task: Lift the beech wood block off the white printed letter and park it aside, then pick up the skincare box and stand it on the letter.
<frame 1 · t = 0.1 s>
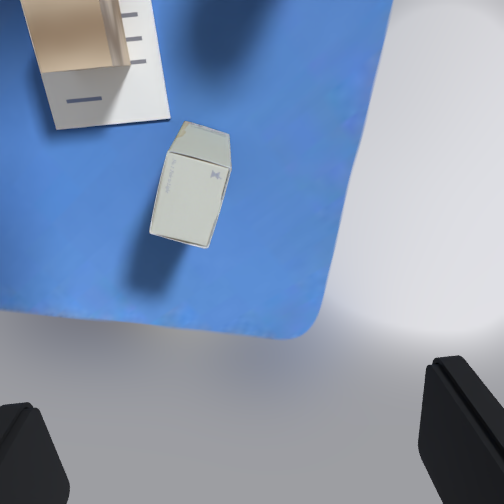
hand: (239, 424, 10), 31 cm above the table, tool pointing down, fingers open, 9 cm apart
letter: (94, 34, 34), on the table
block: (93, 34, 33), resting on letter
skincare box: (199, 160, 38), on the table
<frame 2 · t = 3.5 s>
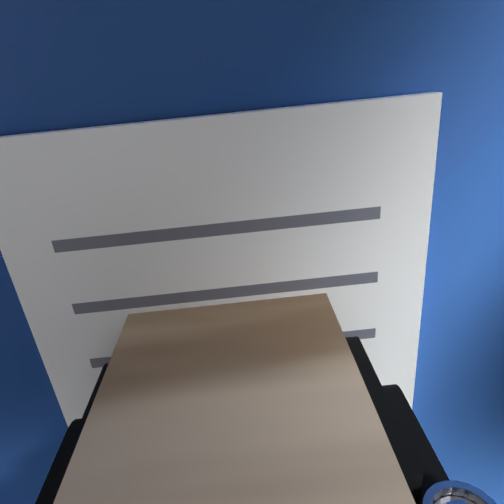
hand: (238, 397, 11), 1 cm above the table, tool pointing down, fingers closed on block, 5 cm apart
letter: (237, 372, 12), on the table
block: (237, 380, 11), resting on letter, touching gripper
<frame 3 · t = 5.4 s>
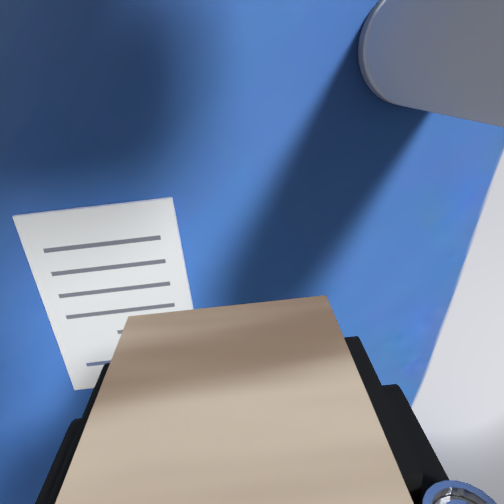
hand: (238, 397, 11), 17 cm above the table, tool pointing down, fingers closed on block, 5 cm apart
letter: (119, 301, 29), on the table
block: (237, 382, 11), point 16 cm above the table, touching gripper
travel mug: (413, 47, 23), on the table
when the fingers open (2 cm above the table, at t = 7.5 s): block drops 2 cm, on the table.
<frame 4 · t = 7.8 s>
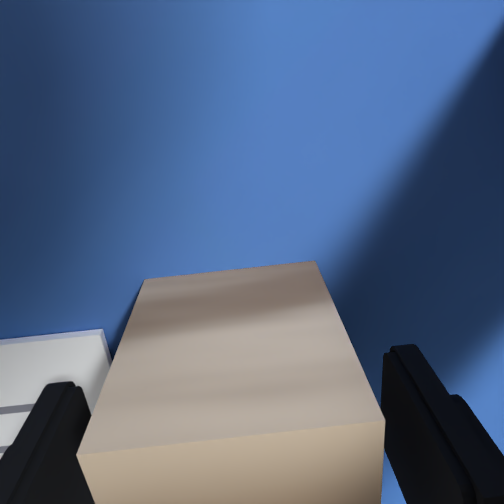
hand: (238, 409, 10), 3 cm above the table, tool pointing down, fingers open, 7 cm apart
letter: (14, 497, 15), on the table
block: (239, 338, 13), on the table
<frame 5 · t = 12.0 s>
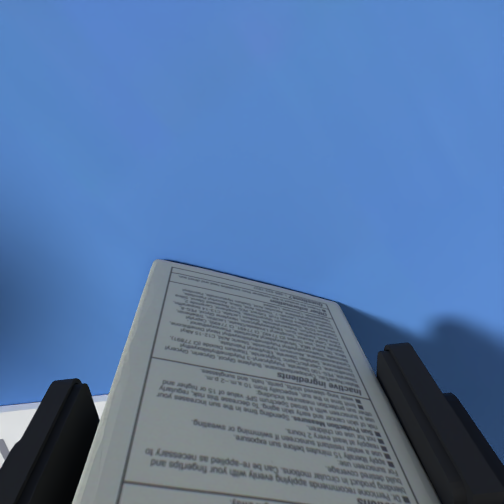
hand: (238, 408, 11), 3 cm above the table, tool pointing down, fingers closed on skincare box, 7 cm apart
skincare box: (237, 328, 14), on the table, touching gripper
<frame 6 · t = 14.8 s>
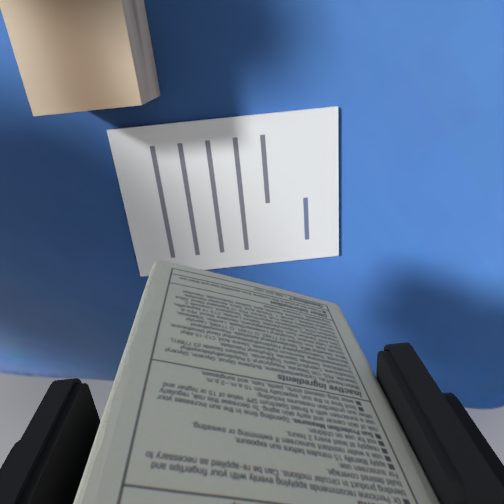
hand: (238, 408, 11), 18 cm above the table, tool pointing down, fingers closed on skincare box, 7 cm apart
letter: (232, 196, 27), on the table
block: (108, 53, 23), on the table
skincare box: (237, 329, 14), point 15 cm above the table, touching gripper
when the fingers open (4 cm above the table, at t = 17.7 s): skincare box stays where it is, resting on letter.
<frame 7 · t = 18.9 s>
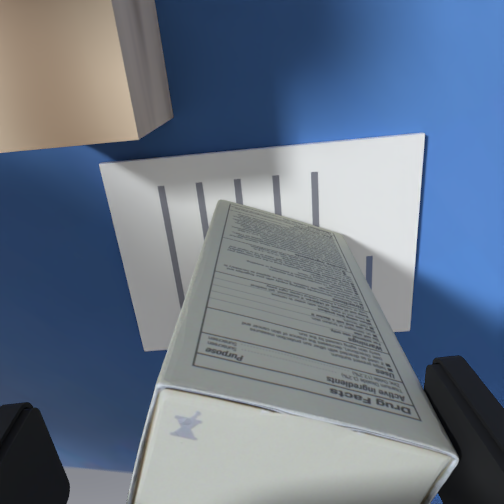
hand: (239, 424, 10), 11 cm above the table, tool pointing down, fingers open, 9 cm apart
letter: (268, 252, 20), on the table
block: (101, 58, 17), on the table
skincare box: (271, 253, 20), resting on letter, touching gripper
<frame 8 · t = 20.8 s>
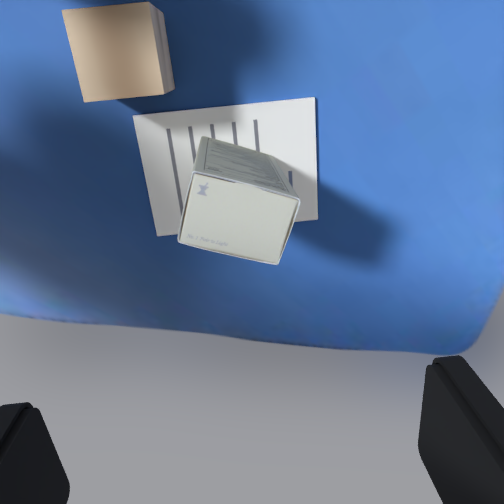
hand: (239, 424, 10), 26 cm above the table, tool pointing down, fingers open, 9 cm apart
letter: (231, 170, 34), on the table
block: (135, 55, 30), on the table
skincare box: (233, 169, 34), resting on letter
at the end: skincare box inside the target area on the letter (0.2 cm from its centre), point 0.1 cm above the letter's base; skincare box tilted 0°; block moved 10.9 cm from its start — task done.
